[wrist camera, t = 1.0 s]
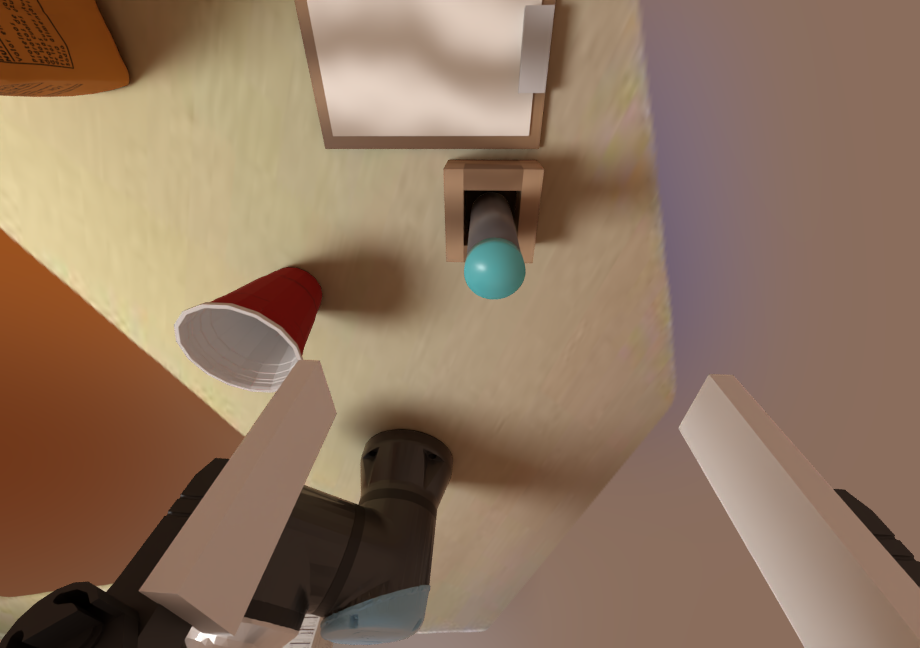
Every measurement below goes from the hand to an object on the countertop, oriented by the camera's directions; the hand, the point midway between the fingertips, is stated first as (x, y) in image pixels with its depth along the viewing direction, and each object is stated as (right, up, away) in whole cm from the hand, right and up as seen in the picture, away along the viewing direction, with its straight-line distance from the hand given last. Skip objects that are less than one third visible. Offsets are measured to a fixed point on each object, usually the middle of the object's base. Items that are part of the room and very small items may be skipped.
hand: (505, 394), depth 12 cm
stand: (+1, +14, +21) cm, 25 cm away
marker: (+1, +14, +21) cm, 25 cm away
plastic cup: (-21, +7, +28) cm, 35 cm away
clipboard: (-4, +24, +14) cm, 28 cm away
